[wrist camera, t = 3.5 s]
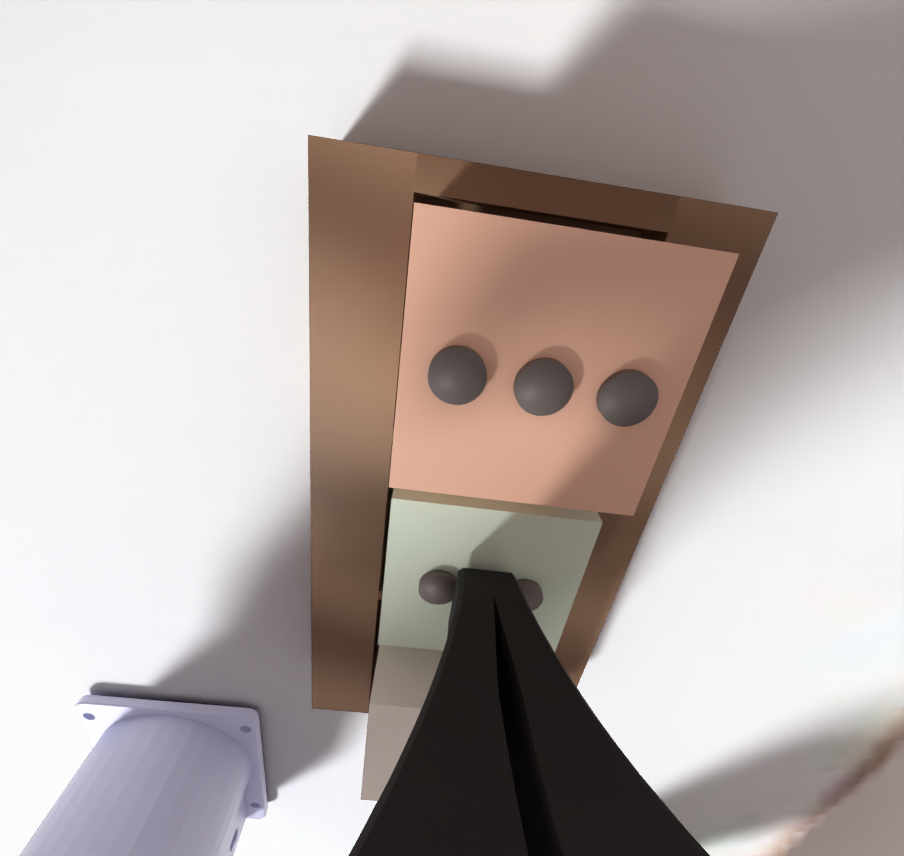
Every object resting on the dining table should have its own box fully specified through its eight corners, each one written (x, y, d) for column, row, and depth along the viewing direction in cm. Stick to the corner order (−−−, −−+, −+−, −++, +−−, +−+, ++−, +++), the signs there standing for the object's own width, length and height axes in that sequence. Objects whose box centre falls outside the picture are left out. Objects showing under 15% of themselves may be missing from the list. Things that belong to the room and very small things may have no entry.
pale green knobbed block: (532, 577, 15) (553, 667, 12) (392, 562, 15) (376, 650, 12) (568, 456, 13) (605, 528, 10) (405, 435, 13) (390, 503, 9)
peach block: (587, 443, 11) (636, 521, 8) (404, 420, 11) (387, 493, 8) (650, 245, 9) (747, 254, 6) (426, 210, 9) (413, 201, 6)
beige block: (503, 709, 17) (515, 818, 14) (377, 698, 16) (359, 807, 13) (531, 621, 14) (552, 727, 11) (386, 606, 14) (368, 712, 11)
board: (548, 681, 19) (558, 729, 17) (325, 660, 18) (311, 708, 17) (723, 214, 11) (777, 212, 9) (333, 150, 10) (308, 135, 8)
